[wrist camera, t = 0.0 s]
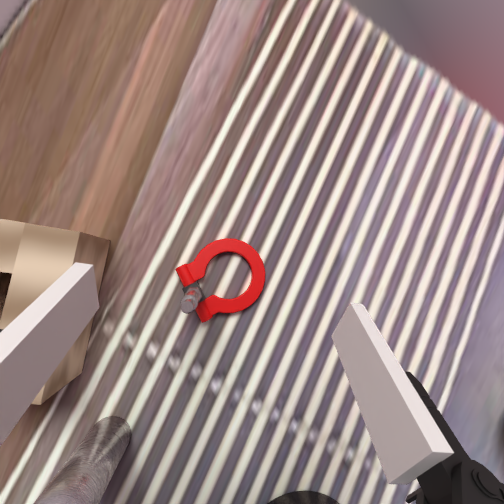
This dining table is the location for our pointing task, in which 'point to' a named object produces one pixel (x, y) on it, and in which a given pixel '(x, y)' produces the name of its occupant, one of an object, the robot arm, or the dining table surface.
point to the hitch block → (47, 280)
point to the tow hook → (214, 304)
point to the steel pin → (90, 465)
